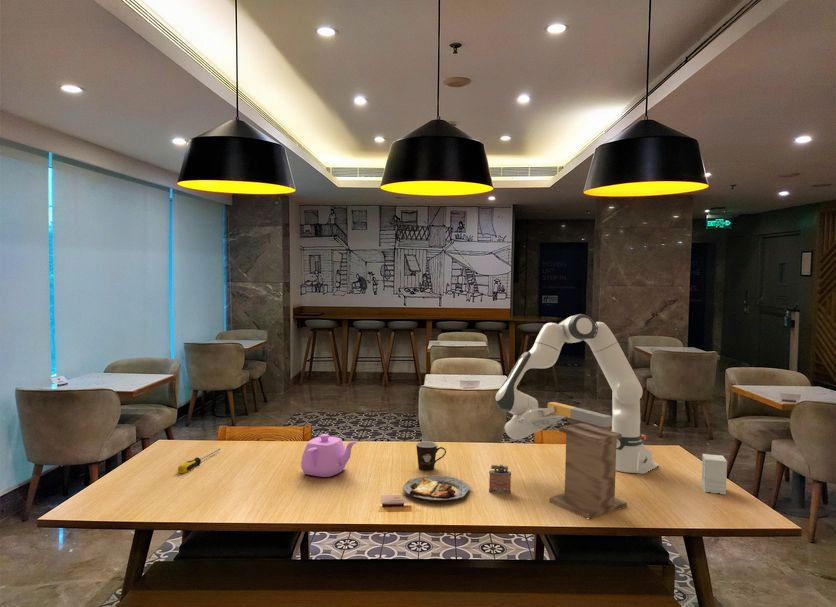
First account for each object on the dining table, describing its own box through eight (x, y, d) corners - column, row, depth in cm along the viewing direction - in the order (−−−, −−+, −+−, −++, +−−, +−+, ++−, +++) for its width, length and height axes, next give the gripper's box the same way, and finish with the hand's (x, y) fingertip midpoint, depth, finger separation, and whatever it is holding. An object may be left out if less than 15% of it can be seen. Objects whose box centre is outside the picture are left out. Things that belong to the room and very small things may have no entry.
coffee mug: (412, 470, 229) (413, 445, 228) (420, 463, 237) (420, 440, 236) (439, 474, 224) (439, 449, 224) (446, 467, 232) (446, 443, 232)
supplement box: (722, 488, 214) (723, 455, 213) (726, 495, 207) (727, 461, 206) (701, 485, 216) (702, 453, 216) (704, 492, 209) (705, 458, 209)
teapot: (288, 479, 216) (289, 440, 216) (317, 462, 236) (317, 427, 235) (341, 487, 208) (341, 447, 208) (366, 470, 228) (366, 433, 227)
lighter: (510, 490, 208) (511, 464, 207) (511, 494, 204) (511, 467, 204) (488, 489, 208) (489, 463, 208) (488, 493, 205) (489, 466, 205)
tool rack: (587, 490, 209) (589, 421, 208) (626, 506, 194) (629, 432, 193) (549, 501, 198) (551, 428, 197) (587, 519, 184) (590, 440, 183)
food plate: (457, 509, 190) (457, 499, 190) (393, 499, 198) (393, 489, 198) (475, 486, 213) (475, 477, 213) (418, 478, 221) (418, 470, 221)
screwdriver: (184, 466, 219) (223, 445, 249) (176, 465, 220) (216, 444, 250) (184, 474, 220) (223, 452, 249) (176, 474, 220) (216, 452, 250)
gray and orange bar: (554, 410, 211) (554, 401, 211) (611, 426, 190) (611, 416, 189) (547, 411, 210) (547, 402, 209) (604, 427, 188) (605, 417, 188)
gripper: (512, 414, 213) (536, 402, 202) (551, 408, 224) (575, 396, 213) (518, 431, 210) (542, 419, 200) (556, 424, 221) (581, 412, 211)
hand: (559, 407), depth 207 cm, fingers closed on gray and orange bar, 3 cm apart
